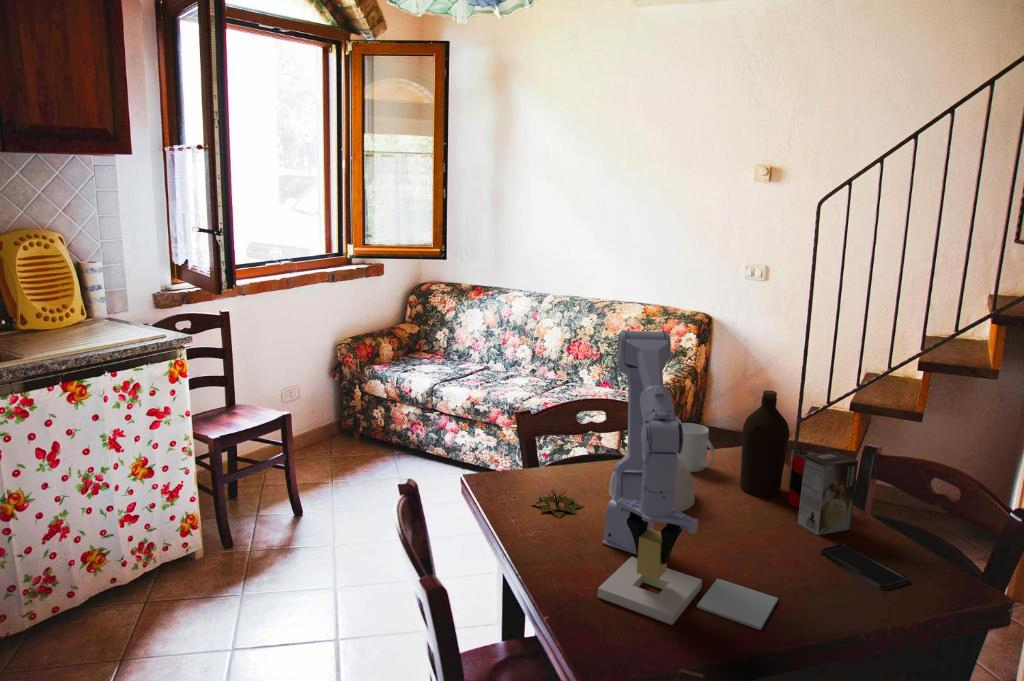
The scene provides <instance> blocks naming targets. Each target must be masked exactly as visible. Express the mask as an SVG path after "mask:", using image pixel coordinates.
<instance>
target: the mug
mask: <svg viewBox="0 0 1024 681" xmlns="http://www.w3.org/2000/svg"><path fill="white" fill-rule="evenodd" d="M681 423H682V427H683V436H684V440H683V449H682V452H681V454H678V452H677V455H678V458H680V459H681V460H682V461H683V462H684V464H685V465H686V466H687V468H688V469H689V471H690V473H698V472H701V471H704V469H705V468H709V467H711V466H712V464H713V463H714V460H715V447H714V446H713V444H712V442H711V441H710V440H709V434H710V433H709V430H710V429H709V428H708V427H706V426H704V425H701V424H697V423H691V422H681ZM708 448H709V449H710V451H711V454H712V458H711V461H709V462H707V454H708Z"/></svg>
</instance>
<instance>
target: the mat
mask: <svg viewBox="0 0 1024 681" xmlns="http://www.w3.org/2000/svg"><path fill="white" fill-rule="evenodd" d="M699 600H700V601H699V602H698V603H697V604H696V608H697V609H700V610H702V611H705V612H708V613H711V614H714V615H717V616H719V617H722V618H724V619H728V620H730V621H733V622H736V623H739V624H742V625H744V626H748V627H750V628H753V629H756V630H759V631H761V630H762V629H763V627H764V625H765V624H766V621H767V620H768V619H769V617H770V615H771V613H772V612H773V610H774V608H775V606H776V604H777V602H778V601H779V598H778V597H777V596H772V595H770V594H768V593H763V592H760V591H757V590H754V589H751V588H749V587H745V586H742V585H739V584H736V583H733V582H730V581H727V580H724V579H722V578H719V577H718V578H716V580H715V581H714V582H713V583H712V584H711V587H710V588H709V589H708V590H707V591H706V592H705V593H704V595H703V596H702V598H701V599H699Z"/></svg>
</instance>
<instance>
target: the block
mask: <svg viewBox="0 0 1024 681" xmlns="http://www.w3.org/2000/svg"><path fill="white" fill-rule="evenodd" d="M661 553H662V537H661V531H657V530H655V529H653V530H651V529H647V530H646V531H645V532H644V533H643V534H642V535H641V536H640V537H639V547H638V556H637V558H638V561H637V573H638V574H641V575H644V576H647V577H650V578H652V579H655V580H658V579H659V578H660V577H661V576H662V575H663V574H664V573H665V572H666V570H667V567H668V562H667V563H666V564H661Z"/></svg>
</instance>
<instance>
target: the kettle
mask: <svg viewBox="0 0 1024 681" xmlns="http://www.w3.org/2000/svg"><path fill="white" fill-rule="evenodd" d="M627 455H628V453H627V454H626V455H625V456H623V457H622V458H621V459H623V458H624V457H626V456H627ZM624 472H642V473H643V470H626V471H624ZM613 475H614V470H613V471H612V474H611V476H610V477H611V478H610V482H609V489H608V494H609V496H610V498H611V499H612V498H613V490H612V484H613ZM695 502H696V498H695V482H694V479H693V475H692V472H690V471H689V469H688V468H687V466H686V465H685V464H684V462H683V461H682V460H681V459H680V458H678V457H677V469H676V481H675V493H674V505H673V509H675V510H677V511H679V512H681V513H683V512H684V511H687V510H689V509H690V508H692V507H693V505H695Z"/></svg>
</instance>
